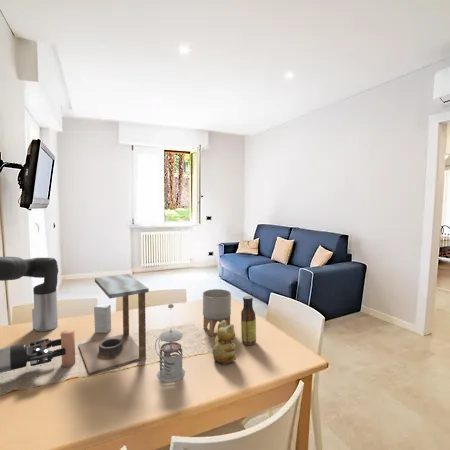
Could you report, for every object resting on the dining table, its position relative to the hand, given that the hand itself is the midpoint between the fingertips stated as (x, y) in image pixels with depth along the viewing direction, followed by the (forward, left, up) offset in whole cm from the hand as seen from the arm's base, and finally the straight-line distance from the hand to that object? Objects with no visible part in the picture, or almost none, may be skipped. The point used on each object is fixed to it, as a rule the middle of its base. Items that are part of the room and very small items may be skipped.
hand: (64, 346), depth 108 cm
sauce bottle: (+66, +25, -7) cm, 71 cm away
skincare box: (-1, +28, -7) cm, 29 cm away
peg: (+1, +1, -7) cm, 7 cm away
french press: (+39, -1, -7) cm, 40 cm away
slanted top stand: (+12, +10, -7) cm, 18 cm away
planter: (+51, +35, -7) cm, 63 cm away
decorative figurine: (+57, +9, -7) cm, 59 cm away
